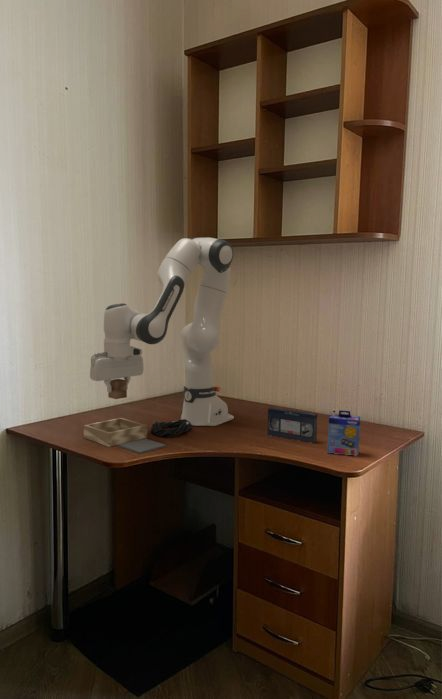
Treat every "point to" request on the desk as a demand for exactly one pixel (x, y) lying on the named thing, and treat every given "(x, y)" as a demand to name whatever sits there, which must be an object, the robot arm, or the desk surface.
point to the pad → (142, 445)
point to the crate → (115, 431)
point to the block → (118, 389)
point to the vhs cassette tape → (292, 424)
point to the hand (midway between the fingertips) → (117, 390)
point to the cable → (180, 427)
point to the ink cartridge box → (343, 434)
